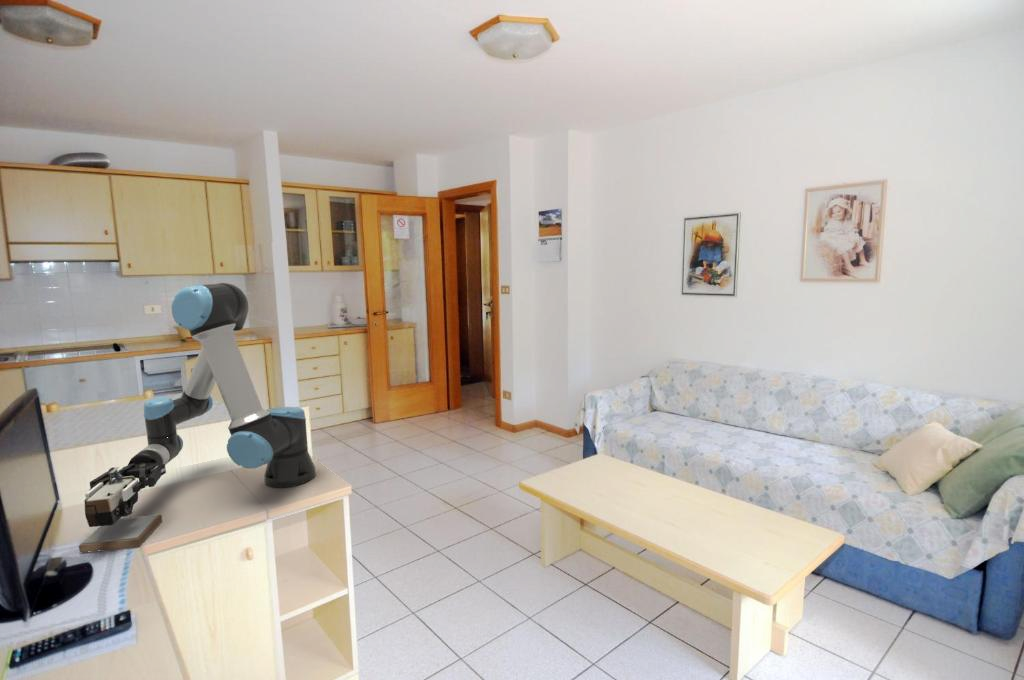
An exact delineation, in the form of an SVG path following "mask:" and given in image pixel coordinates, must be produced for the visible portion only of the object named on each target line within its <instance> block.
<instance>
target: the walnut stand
mask: <svg viewBox="0 0 1024 680" xmlns="http://www.w3.org/2000/svg"><path fill="white" fill-rule="evenodd" d="M162 522H163V516H162V514H154V515H153V514H152V515H142V516H133V517H131V516H130V517H124V518H123V517H121V518H120V519H119V520H118V521H117V522H116V523H115V524H113V525H110V526H98V527H97V529H96V530H95V531H93V532H92V533H91V534H90V535H89V536H88V537H87V538H85V539H84V540H83V542H81V543H80V544H79V545H78V550H79V553H80V552H88V551H97V552H102V551H101V550H106V551H115V550H123V549H133V548H140V547H141V546H142V545H143V543H145V541H146V540H147V539H148V538H149V537H150V536H151V535H152V533H154V531H155V530H156V529H157V528H158V527H159V526H160V525H161V524H162ZM114 549H115V550H114ZM98 550H100V551H98ZM88 553H89V552H88Z"/></svg>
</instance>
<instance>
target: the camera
mask: <svg viewBox="0 0 1024 680" xmlns="http://www.w3.org/2000/svg"><path fill="white" fill-rule="evenodd" d="M119 469H120V467H119V466H117V467H114V469H113V470H112V471H111V472H109V473H108V477H109V482H107V484H105V485H104V486H103V487H102V488H101V489H99V490H98V491H97V492H96V493H95V494H94V495H92V496H91V497H90V498H89V499H86V498H85V499H84V502H83V503H84V515H85V519H86V522H87V524H88V527H89V528H93V527H94V528H95V527H96V528H98V527H100V526H110V525H113V524H115V523H116V522H117V521H118V520H119V519H120V518H123V517H124V518H125V517H128V516H130V515H132V514H133V508H134V505H135V504H136V503H137V502H138V500H139V492H136V493H135V494H134V495H133V496H132V497H130V498H129V499H128V500H127V501H123V496H122V490H124V489H125V488H126V487H127V486H128V485H129V484H131V483H132V482H133V481H134V480H136V478H135V477H134V476H127V477H122V475H120V474H119V473H118V472H117V470H119ZM113 473H115V476H116V478H113V479H112V477H111V475H112V474H113Z"/></svg>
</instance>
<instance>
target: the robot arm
mask: <svg viewBox="0 0 1024 680" xmlns="http://www.w3.org/2000/svg"><path fill="white" fill-rule="evenodd" d="M171 315H172V318H173V321H174V322H175V323H176V324H177V325H178V326H179V327H180V328H182V329H183V330H188V332H189V334H190V336H191V339H193V340H196V341H198V342H199V343H200V345H201V348H200V351H199V352H198V355H197V358H196V360H195V362H194V364H193V368H192V370H191V372H190V374H189V377H188V380H187V382H186V385H185V387H184V390H183V392H182V394H181V397H179V398H176V399H173V398H171V397H164V396H163V397H162V396H160V397H156V398H151V399H148V400H146V401H145V403H144V404H143V417H144V421H145V430H146V440H147V446H146V447H144V448H143V449H141V450H140V451H139V452H138V453H136V454H135V455H134V456H132V457H131V458H130V460H129V462H128V464H127V465H126V466H123V467H122V468H121V469H120V468H119V469H117V472H118V473H119V474H120V475H122V477H127V476H134V477H135V480H134V481H133V482H132V483H131V484H129V485H128V486H127V487H126V488H125V489H124V490H122V496H123V501H127V500H128V499H129V498H130V497H132V496H133V495H134V494H135V493H136V492H138V493H139V492H140V491H141V490H142V489H146V487H149V488H153V487H155V486H156V485H157V483H158V482H159V480H160V479H161V477H162V476H163V475H165V474H167V470H166V466H167V464H168V463H170V462H171V461H172V460H173V459H174V458H176V457H177V456H178V455H179V453H180V452H181V451H182V449H183V447H184V441H183V438H182V437H181V436H180V435H179V434H178V432H177V425H180V424H182V423H184V422H187V421H190V420H192V419H195V418H197V417H200V416H202V415H204V414H206V413H208V412H210V410H211V409H212V408H213V398H212V396H211V394H212V391H213V390H214V387H215V384H216V385H217V387H218V390H219V392H220V394H221V398H222V400H223V402H224V406H225V408H226V409H227V410H226V411H227V413H228V415H229V418H230V420H231V421H230V424H229V425H228V431H229V433H230V437H229V438H228V440H227V443H226V451H227V454H228V456H229V458H230V460H231V461H232V462H234V463H235V464H236V465H237V466H239V467H242V468H244V469H247V470H248V469H250V470H251V469H252V470H253V469H257V468H260V467H262V466H263V465H266V468H265V472H264V483H265V485H267V486H268V487H271V488H290V487H289V486H291V487H294V485H296V486H298V484H300V485H302V484H301V483H303V482H305V483H307V482H306V481H308V480H309V481H311V480H312V479H314V478H315V477H316V475H315V474H316V472H317V471H316V466H315V463H314V462H313V459H312V457H311V455H310V452H309V448H308V435H307V422H306V421H307V418H306V412H305V410H304V409H303V408H301V407H299V406H298V407H297V406H284V407H283V406H281V407H279V406H278V407H273V408H267V409H264V408H263V406H262V404H261V401H260V398H259V396H258V394H257V391H256V389H255V386H254V383H253V380H252V378H251V376H250V374H249V371H248V368H247V366H246V363H245V361H244V358H243V355H242V353H241V350H240V348H239V345H238V343H237V339H236V335H237V334H238V333H237V332H240V331H242V330H243V328H244V325H245V324H246V321H247V318H248V315H249V301H248V299H247V296H246V294H245V292H244V291H243V290H242V289H241V288H239V286H237V285H235V284H231V283H227V282H226V283H225V282H221V283H211V284H196V285H192V286H191V285H190V286H187V287H183V288H181V289H180V290H179V291H178V292H177V293H176V294H175V295H174V298H173V300H172V303H171ZM167 437H168V438H167ZM114 468H115V467H110V468H109V469H108V471H106V472H104V473H102V474H100V475H99V476H97V477H95V479H92V480H91V481H89V490H88V491H87V492H86V493H84V495H85V499H89V498H90V497H91V496H92V495H94V494H95V493H96V492H97V491H98V490H99V489H101V488H102V487H103V486H104V485H105V484H107V482H109V477H108V473H109V472H111V471H112V470H113V469H114ZM111 477H112V479H113V478H116V476H115V473H113V474H112V475H111ZM313 477H314V478H313ZM311 478H312V479H311ZM310 479H311V480H310ZM309 481H308V482H309ZM303 484H304V483H303Z"/></svg>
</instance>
